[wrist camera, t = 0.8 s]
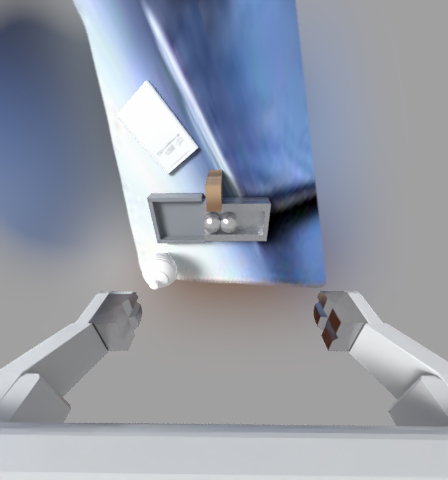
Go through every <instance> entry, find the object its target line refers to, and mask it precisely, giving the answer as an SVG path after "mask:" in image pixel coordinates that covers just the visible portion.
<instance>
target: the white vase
mask: <svg viewBox="0 0 448 480" xmlns="http://www.w3.org/2000/svg"><path fill="white" fill-rule="evenodd" d="M168 253H169V252H167V253H160V254H156V255H154V256H152V257H150V258H148V259H147V260H146V262H145V263H144V265H143V267H142V275H143V277H144V279H145V281H146V282H147V284H149V287H150V288H152V289H158V288H162V287H165V286H168V285H170V284H171V283H172V282H173V281H174V280H175V278H176V276H177V265H176V263H175V261H174V259H173V258H172V257H171V255H169V254H168Z"/></svg>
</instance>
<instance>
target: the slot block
mask: <svg viewBox="0 0 448 480" xmlns="http://www.w3.org/2000/svg"><path fill="white" fill-rule="evenodd" d="M201 208H202V212H203V217H204V221H205V217H206V215H207V214H208V213H211V212H207V207H206V198H203V199H202V203H201ZM270 208H271V202H270V200H269V198H268V197H222V211H221V212H214V213H217V214H218V215H219V216H220V225H221V216H222V215H223V214H224V213H227V212H231V213H233V214H234V215H235V216H236V222H237V227H236V229H235V231H233V232H231V233H226V232H224V231H223V230H222V229H221V226H220V228H219V230H218V231H217V232H215V233H209V232H207V231H206V230H205V229H204V241H267V233H268V225H269V216H270Z"/></svg>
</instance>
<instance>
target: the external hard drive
mask: <svg viewBox="0 0 448 480" xmlns="http://www.w3.org/2000/svg"><path fill="white" fill-rule="evenodd" d="M116 117H117V118H118V120H119V121H120V122H121V123H122V124H123V125H124V126H125V127H126V128H127V130H128V131H129V132H130V133H131V134H132V135H133V136H134V137H135V138H136V140H137V141H138V142H139V143H140V144H141V145H142V146H143V147H144V149H145V150H146V151H147V152H148V153H149V154H150V155H151V156H152V157H153V159H154V160H155V161H156V162H157V163H158V164H159V165H160V166H161V167H162V169H163V170H164V171H165V172H166V173H167V174H169V173H170V172H171V171H172V170H174V169H175V168H176V167H177V166H178V165H179V164H180V163H182V162H183V161H184V160H185V159H186V158H187V157H188V156H190V155H191V154H192V153H193V152H194V151H195V150H196V149H198V148H199V147H198V145H197V144H196V143H195V141H194V140H193V139H192V137H191V136H190V135H189V133H188V132H187V131H186V129H185V128H184V127H183V125H182V124H181V123H180V121H179V120H178V119H177V117H176V116H175V115H174V113H173V112H172V111H171V109H170V108H169V107H168V105H167V104H166V103H165V101H164V100H163V99H162V98H161V96H160V95H159V94H158V92H157V91H156V90H155V88H154V87H153V86H152V84H151V83H150V82H149V81H148V80H146V81H145V82H144V83H143V85H142V86H141V87H140V88H139V89H138V90H137V92H136V93H135V94H134V95H133V96H132V97H131V98H130V100H129V101H128V102H127V103H126V104H125V105H124V107H123V108H122V109H121V110H120V111H119V112H118V114H117V115H116Z"/></svg>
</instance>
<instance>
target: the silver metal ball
mask: <svg viewBox="0 0 448 480" xmlns="http://www.w3.org/2000/svg"><path fill="white" fill-rule="evenodd" d="M220 226H221V229H222V230H223V231H224V232H226V233H231V232H233V231H235V229H236V227H237V222H236V216H235V215H234V214H233V213H231V212H227V213H224V214H223V215H222V216H221V225H220Z"/></svg>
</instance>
